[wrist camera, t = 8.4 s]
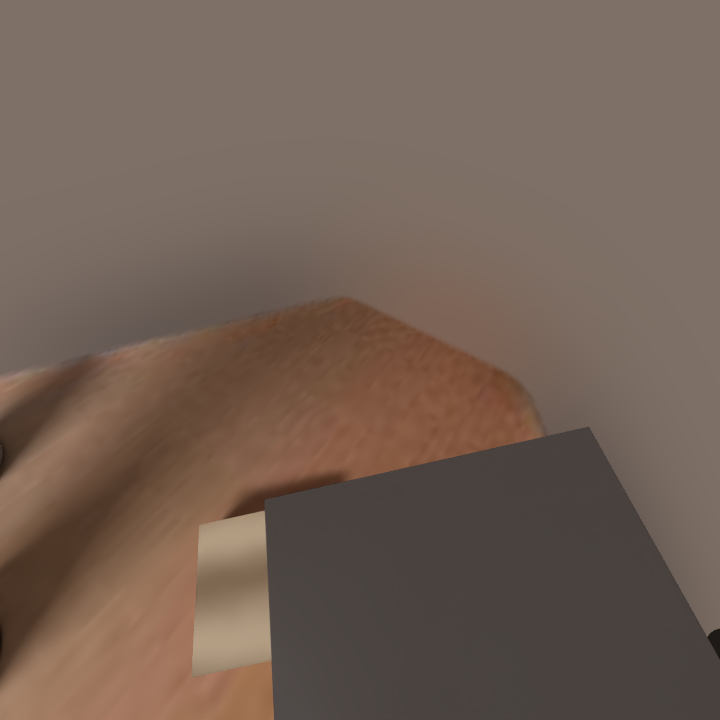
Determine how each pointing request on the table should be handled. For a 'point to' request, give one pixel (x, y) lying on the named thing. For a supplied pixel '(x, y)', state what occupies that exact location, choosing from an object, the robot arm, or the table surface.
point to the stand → (231, 595)
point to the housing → (481, 596)
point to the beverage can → (1, 454)
